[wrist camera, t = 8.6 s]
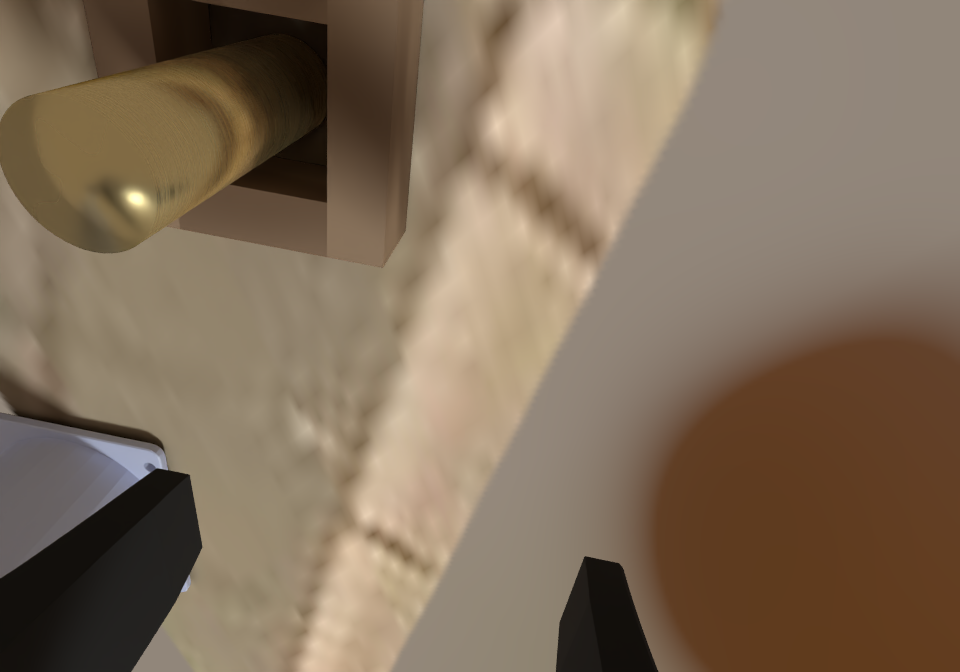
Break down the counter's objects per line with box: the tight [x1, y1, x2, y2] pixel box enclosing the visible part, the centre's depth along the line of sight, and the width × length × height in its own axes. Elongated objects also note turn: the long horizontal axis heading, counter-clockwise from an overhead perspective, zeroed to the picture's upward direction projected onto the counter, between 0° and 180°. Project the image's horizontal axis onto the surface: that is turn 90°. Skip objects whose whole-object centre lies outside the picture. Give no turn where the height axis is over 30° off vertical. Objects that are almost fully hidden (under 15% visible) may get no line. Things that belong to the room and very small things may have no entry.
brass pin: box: [0, 34, 327, 253], centre depth 13 cm, size 2×2×8 cm
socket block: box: [83, 0, 424, 268], centre depth 15 cm, size 7×7×2 cm
